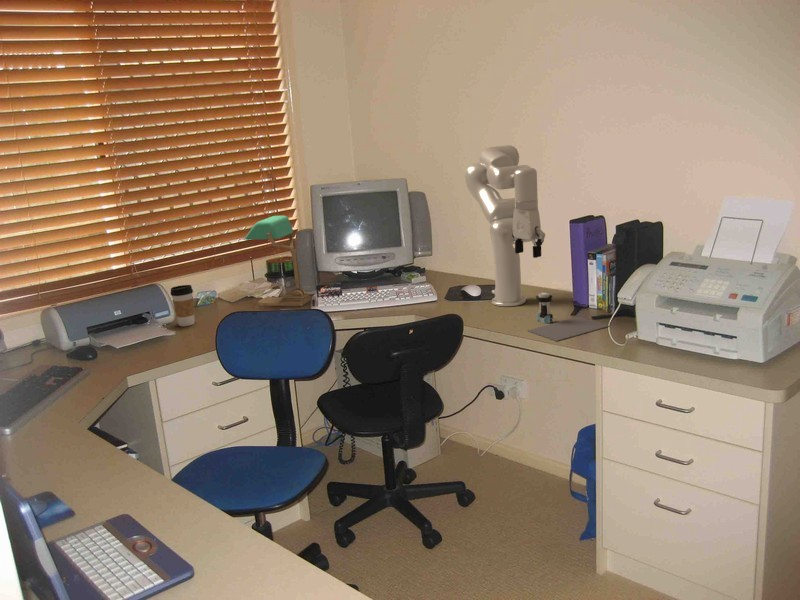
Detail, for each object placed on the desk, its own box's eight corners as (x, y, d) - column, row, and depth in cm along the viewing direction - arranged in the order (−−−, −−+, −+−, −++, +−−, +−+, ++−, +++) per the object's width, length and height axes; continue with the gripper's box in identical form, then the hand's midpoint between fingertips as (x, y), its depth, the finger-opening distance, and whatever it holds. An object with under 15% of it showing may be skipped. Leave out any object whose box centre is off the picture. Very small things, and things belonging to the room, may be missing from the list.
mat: (527, 331, 256) (527, 330, 256) (578, 317, 266) (578, 316, 266) (556, 341, 244) (556, 340, 244) (608, 326, 254) (608, 325, 254)
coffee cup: (188, 327, 294) (182, 289, 290) (170, 326, 297) (164, 288, 293) (202, 321, 301) (196, 283, 297) (185, 320, 305) (179, 283, 301)
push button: (559, 321, 264) (558, 292, 262) (551, 325, 260) (550, 296, 258) (542, 318, 268) (541, 290, 266) (534, 322, 265) (533, 294, 262)
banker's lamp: (298, 308, 308) (287, 221, 299) (251, 308, 314) (239, 222, 305) (314, 297, 322) (304, 214, 313) (269, 297, 329) (258, 215, 320)
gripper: (501, 204, 267) (503, 253, 272) (534, 209, 253) (535, 260, 257) (519, 201, 271) (520, 249, 275) (552, 206, 256) (553, 256, 261)
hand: (528, 254), depth 266 cm, fingers open, 9 cm apart
